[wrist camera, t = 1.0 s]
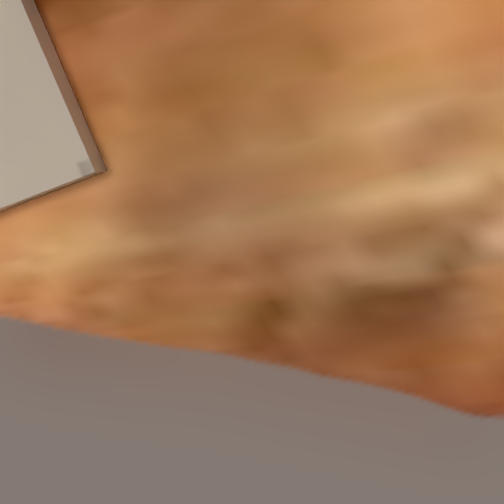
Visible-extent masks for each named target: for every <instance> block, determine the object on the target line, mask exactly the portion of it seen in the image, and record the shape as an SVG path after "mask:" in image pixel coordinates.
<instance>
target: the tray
mask: <svg viewBox="0 0 504 504" xmlns="http://www.w3.org/2000/svg"><path fill="white" fill-rule="evenodd" d="M105 171H107V170H106V168H105V165H104V163H103V161H102V158H101V156H100V154H99V151H98V149H97V147H96V144H95V142H94V140H93V137H92V135H91V133H90V130H89V128H88V126H87V123H86V121H85V119H84V116H83V114H82V112H81V109H80V107H79V105H78V102H77V100H76V98H75V95H74V93H73V91H72V88H71V86H70V84H69V81H68V79H67V77H66V74H65V72H64V70H63V67H62V65H61V63H60V60H59V58H58V56H57V53H56V51H55V49H54V46H53V44H52V42H51V39H50V37H49V35H48V32H47V30H46V28H45V25H44V23H43V21H42V18H41V16H40V14H39V11H38V9H37V7H36V4H35V2H34V0H0V211H3V210H6V209H8V208H11V207H13V206H16V205H19V204H21V203H24V202H26V201H29V200H32V199H34V198H37V197H39V196H42V195H45V194H47V193H50V192H53V191H55V190H58V189H60V188H63V187H66V186H68V185H71V184H73V183H76V182H79V181H81V180H84V179H86V178H89V177H92V176H94V175H97V174H99V173H102V172H105Z"/></svg>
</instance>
